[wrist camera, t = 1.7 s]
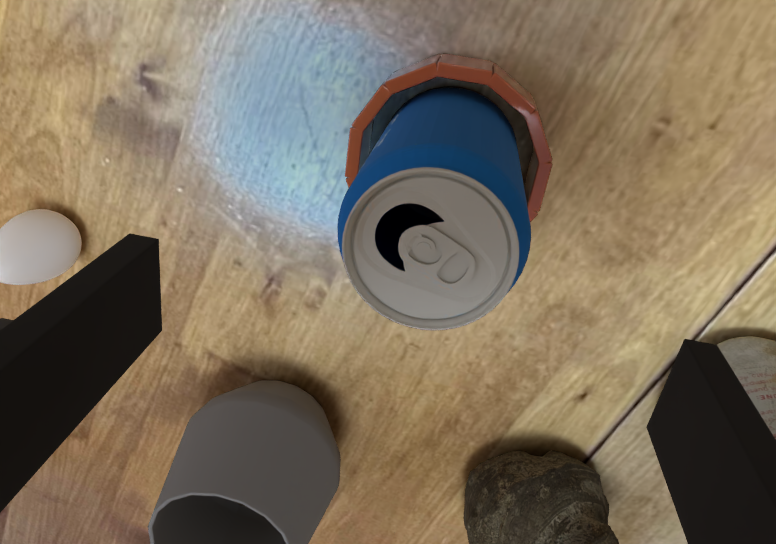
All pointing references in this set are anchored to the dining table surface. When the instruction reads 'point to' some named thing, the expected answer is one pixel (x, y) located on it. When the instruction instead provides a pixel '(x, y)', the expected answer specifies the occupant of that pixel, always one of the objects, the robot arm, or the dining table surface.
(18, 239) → the egg
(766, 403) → the bottle
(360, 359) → the dining table surface
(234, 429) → the cup
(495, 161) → the beverage can
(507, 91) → the can cup
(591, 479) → the seashell
